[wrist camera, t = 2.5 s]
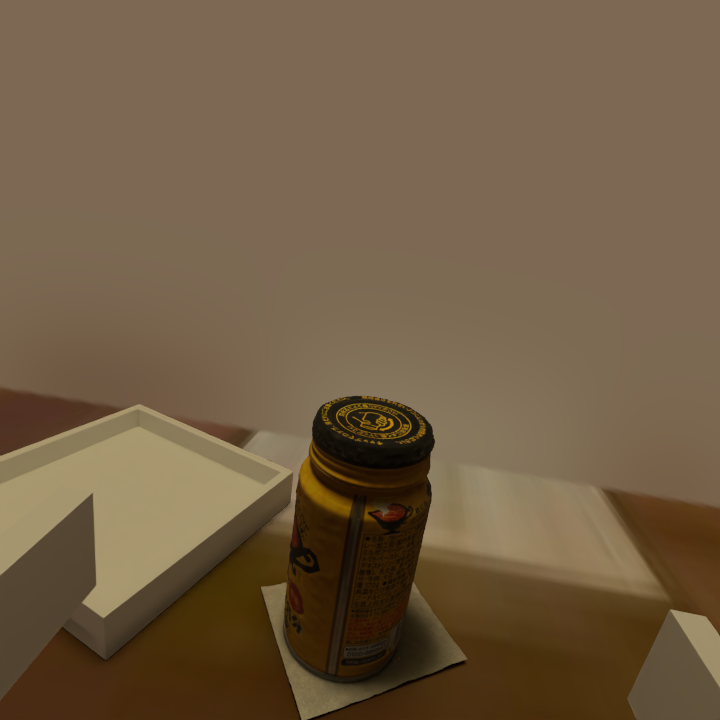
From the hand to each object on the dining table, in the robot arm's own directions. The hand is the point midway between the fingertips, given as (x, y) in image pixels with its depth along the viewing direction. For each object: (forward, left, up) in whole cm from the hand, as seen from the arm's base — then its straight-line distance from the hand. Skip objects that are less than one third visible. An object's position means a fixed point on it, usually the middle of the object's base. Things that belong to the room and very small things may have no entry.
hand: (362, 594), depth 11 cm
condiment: (+3, -10, -12) cm, 16 cm away
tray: (+19, -9, -12) cm, 24 cm away
